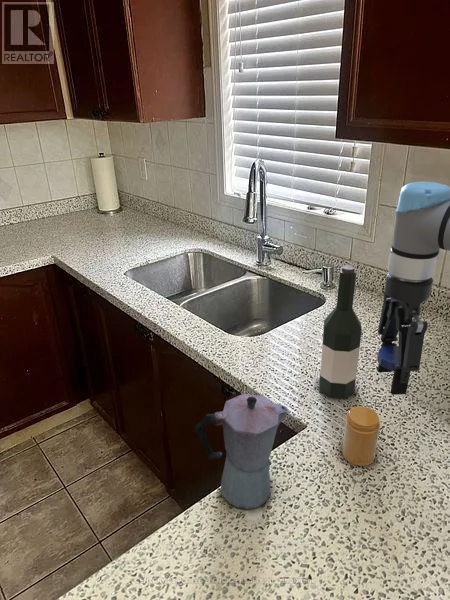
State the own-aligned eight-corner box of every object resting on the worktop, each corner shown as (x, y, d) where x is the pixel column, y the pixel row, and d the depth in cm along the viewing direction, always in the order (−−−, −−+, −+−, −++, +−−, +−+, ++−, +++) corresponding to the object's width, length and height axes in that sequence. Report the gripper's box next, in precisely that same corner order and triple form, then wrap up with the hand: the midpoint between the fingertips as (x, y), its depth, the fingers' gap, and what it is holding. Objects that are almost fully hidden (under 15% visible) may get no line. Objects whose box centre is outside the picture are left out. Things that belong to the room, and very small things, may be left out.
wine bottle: (326, 401, 99) (337, 277, 85) (312, 379, 106) (320, 262, 92) (361, 396, 100) (378, 272, 86) (345, 374, 107) (357, 257, 94)
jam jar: (377, 448, 86) (383, 410, 82) (371, 470, 81) (377, 431, 77) (346, 438, 89) (350, 401, 84) (338, 459, 84) (342, 421, 80)
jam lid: (376, 350, 89) (377, 343, 88) (410, 354, 88) (411, 347, 87) (378, 369, 84) (379, 362, 83) (414, 373, 82) (416, 366, 81)
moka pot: (296, 500, 76) (301, 409, 67) (208, 525, 72) (202, 432, 63) (274, 459, 84) (277, 373, 75) (195, 480, 81) (187, 391, 72)
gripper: (460, 298, 69) (432, 414, 79) (408, 253, 86) (391, 353, 96) (412, 300, 69) (390, 416, 79) (370, 255, 86) (357, 355, 96)
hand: (391, 381), depth 88 cm, fingers closed on jam lid, 6 cm apart
